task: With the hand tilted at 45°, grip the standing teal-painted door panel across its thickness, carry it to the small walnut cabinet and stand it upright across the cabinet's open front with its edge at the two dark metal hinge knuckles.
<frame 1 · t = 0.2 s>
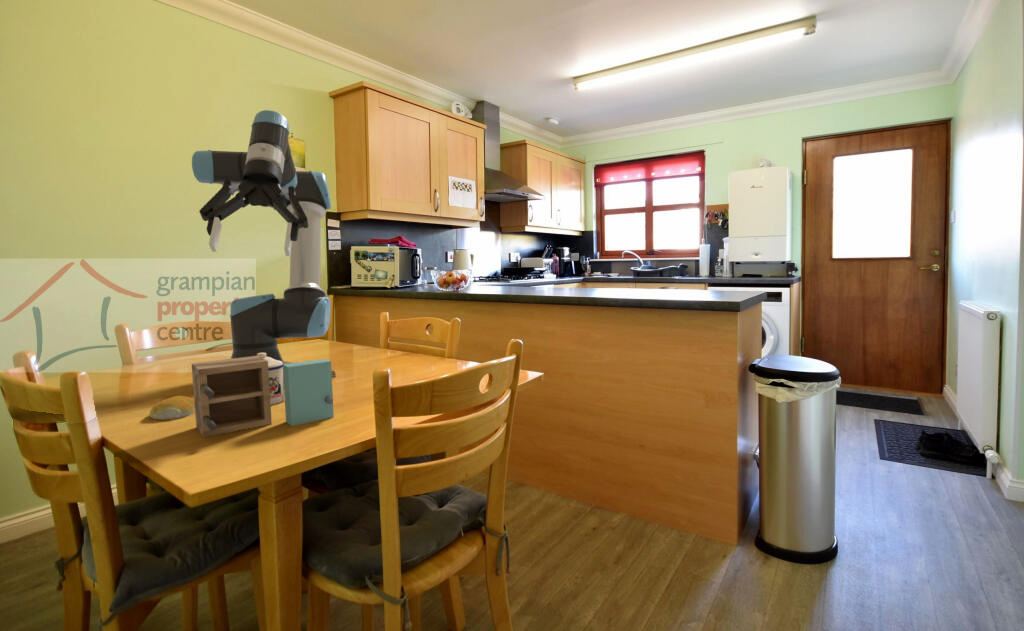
hand: (250, 250, 103), 35 cm above the table, tool tilted 35°, fingers open, 13 cm apart
bread roll: (174, 416, 113), on the table
teacup with lid: (271, 401, 122), on the table
cabinet: (234, 425, 104), on the table
door: (310, 419, 108), on the table
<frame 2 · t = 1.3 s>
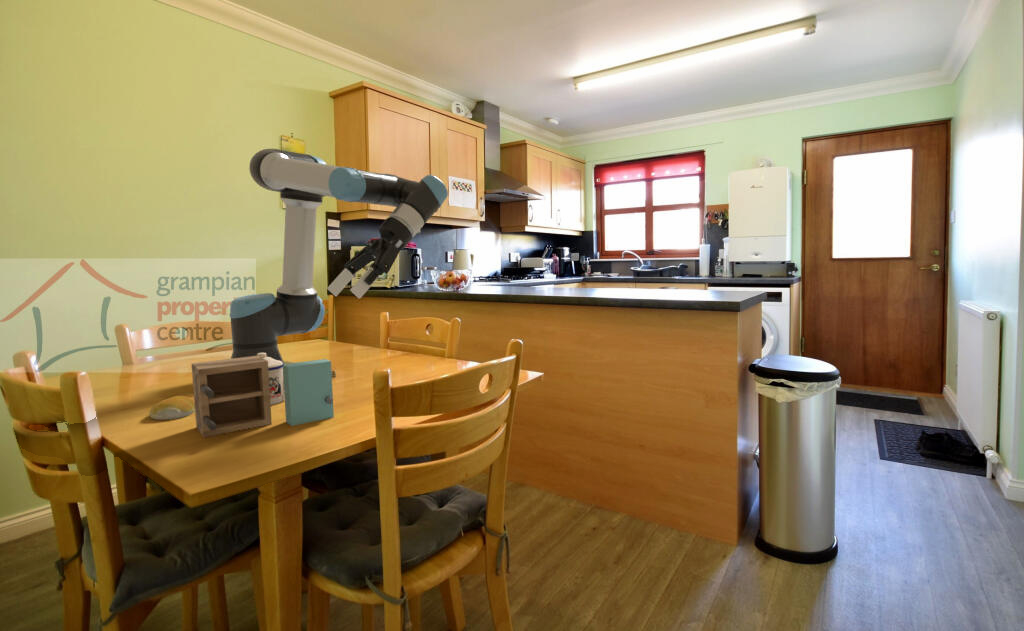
hand: (342, 293, 116), 26 cm above the table, tool tilted 45°, fingers open, 13 cm apart
nothing on the table moved.
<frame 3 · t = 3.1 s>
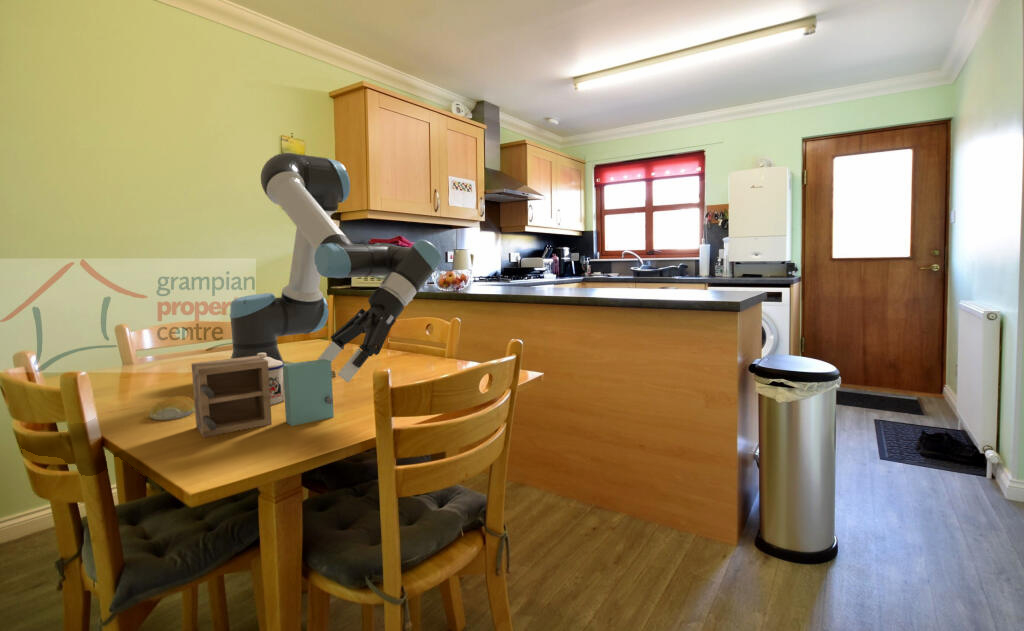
hand: (329, 373, 108), 9 cm above the table, tool tilted 45°, fingers open, 13 cm apart
nothing on the table moved.
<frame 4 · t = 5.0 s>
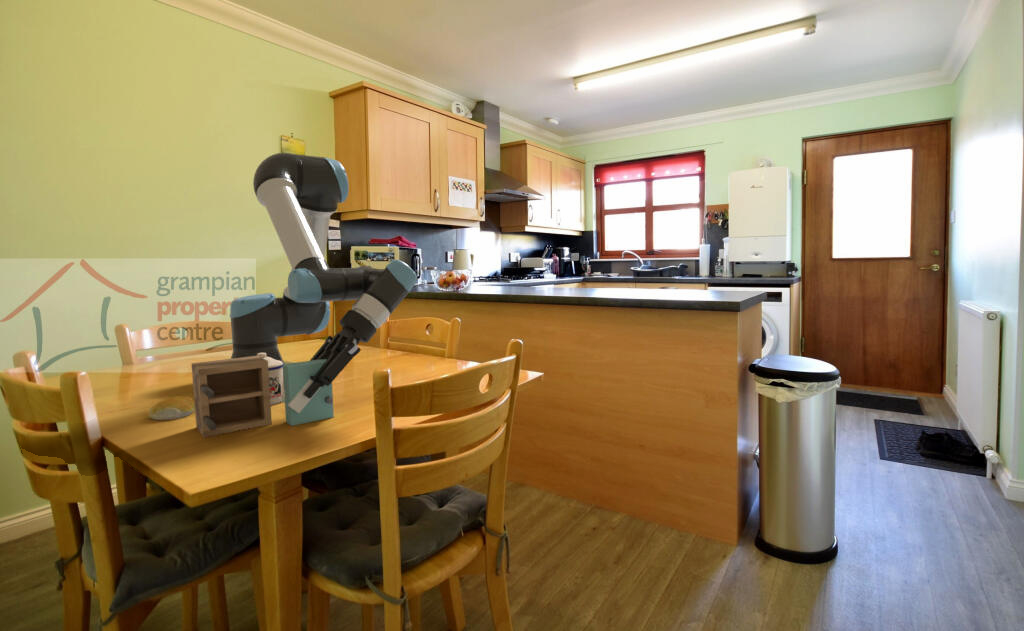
hand: (290, 406, 105), 3 cm above the table, tool tilted 45°, fingers closed on door, 3 cm apart
door: (310, 419, 108), on the table, touching gripper
everything else where it was.
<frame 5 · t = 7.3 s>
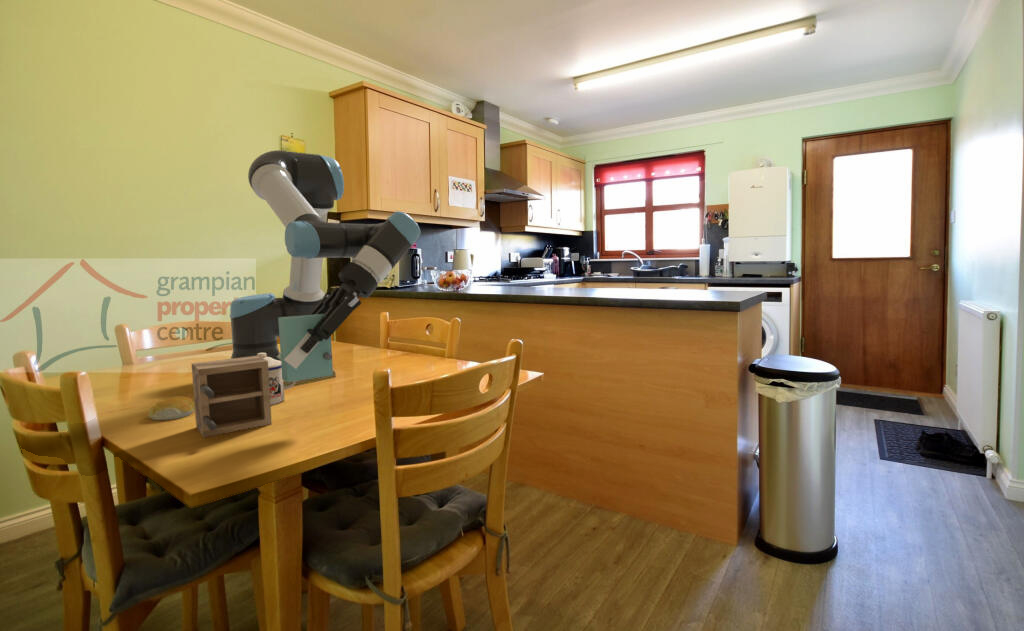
hand: (286, 362, 98), 14 cm above the table, tool tilted 45°, fingers closed on door, 3 cm apart
door: (307, 377, 101), point 10 cm above the table, touching gripper
everything else where it was.
when the fingers open (5 cm above the table, at t = 10.0 s): door drops 1 cm, on the table.
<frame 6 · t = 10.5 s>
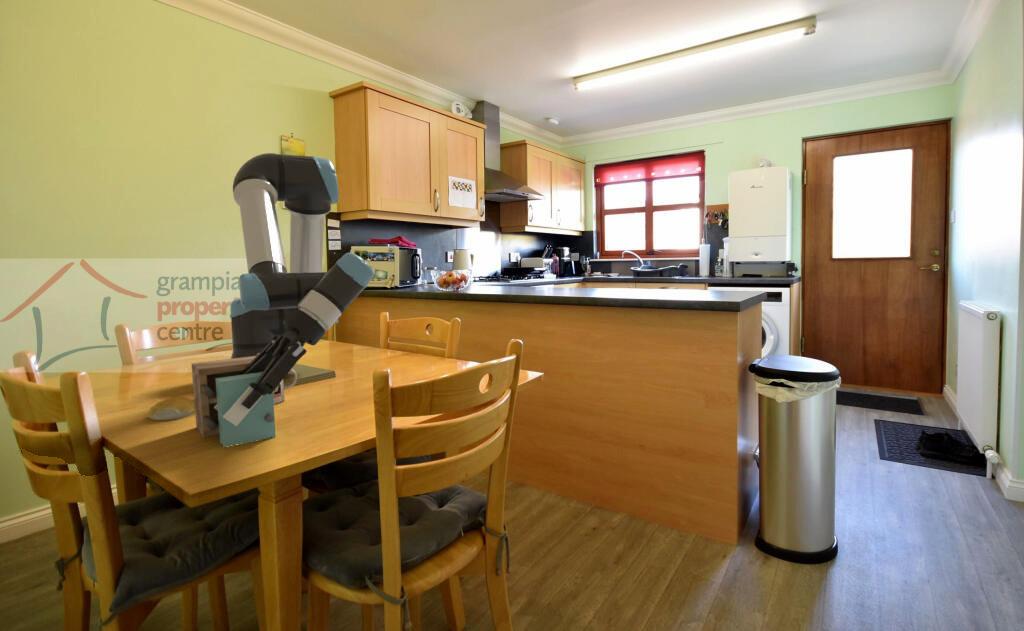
hand: (224, 416, 93), 5 cm above the table, tool tilted 45°, fingers open, 7 cm apart
door: (248, 439, 96), on the table
everything else where it was.
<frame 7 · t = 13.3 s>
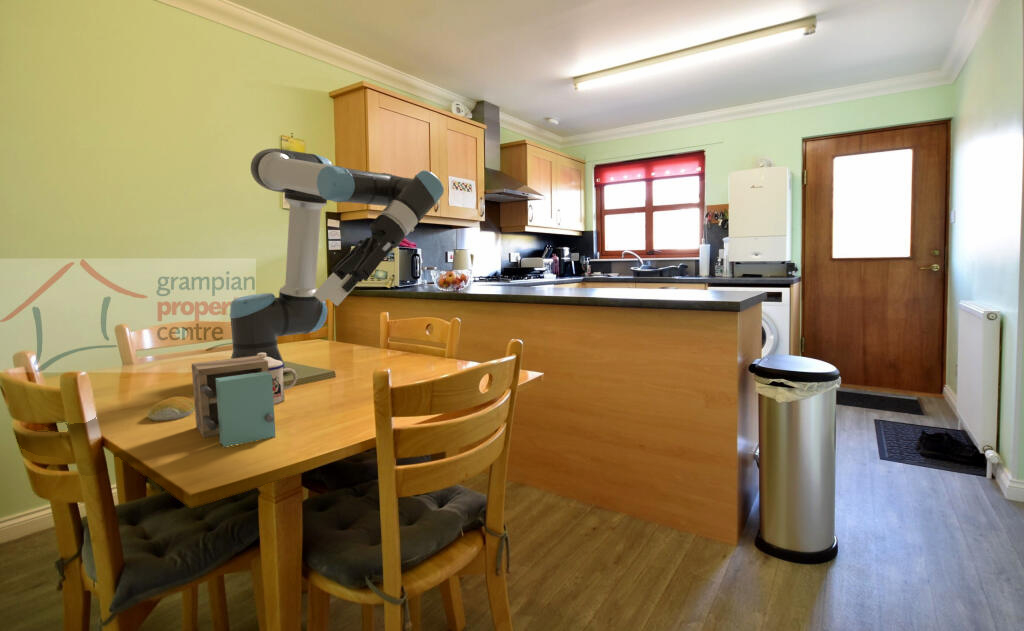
hand: (324, 300, 109), 25 cm above the table, tool tilted 45°, fingers open, 8 cm apart
nothing on the table moved.
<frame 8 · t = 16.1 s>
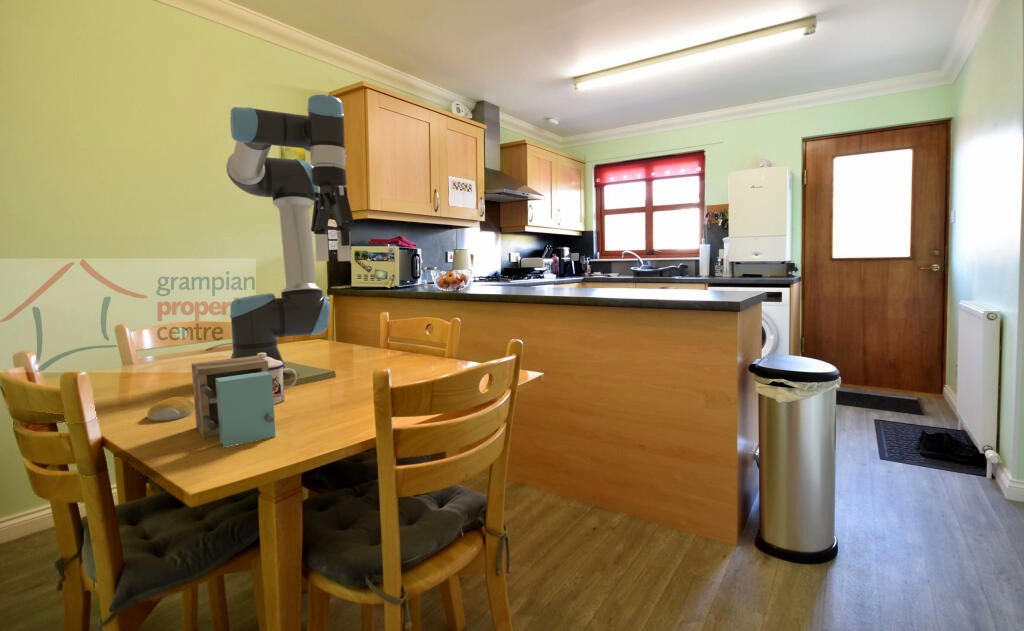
hand: (333, 261, 120), 33 cm above the table, tool pointing down, fingers open, 13 cm apart
nothing on the table moved.
at the end: door 0.1 cm from the target spot, on the table; door tilted 0°; the gripper is holding nothing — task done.
